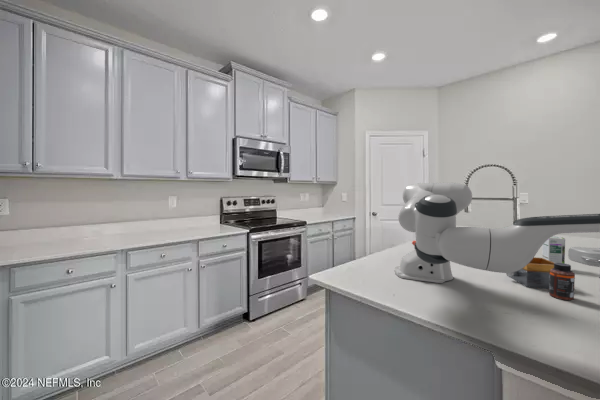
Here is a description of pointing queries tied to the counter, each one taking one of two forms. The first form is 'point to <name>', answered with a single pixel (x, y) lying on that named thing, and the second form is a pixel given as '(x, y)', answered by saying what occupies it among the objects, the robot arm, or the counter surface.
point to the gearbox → (534, 273)
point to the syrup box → (554, 249)
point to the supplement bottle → (562, 282)
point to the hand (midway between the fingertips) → (596, 250)
